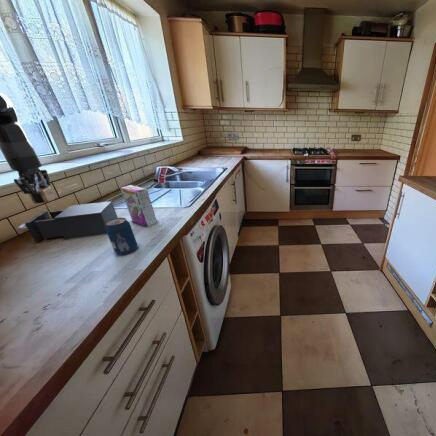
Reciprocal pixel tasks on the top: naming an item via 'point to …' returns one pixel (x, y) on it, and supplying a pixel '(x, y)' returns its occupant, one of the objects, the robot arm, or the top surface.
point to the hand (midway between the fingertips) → (44, 200)
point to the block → (45, 195)
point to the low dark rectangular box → (85, 219)
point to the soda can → (121, 236)
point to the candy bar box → (139, 205)
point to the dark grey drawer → (43, 225)
